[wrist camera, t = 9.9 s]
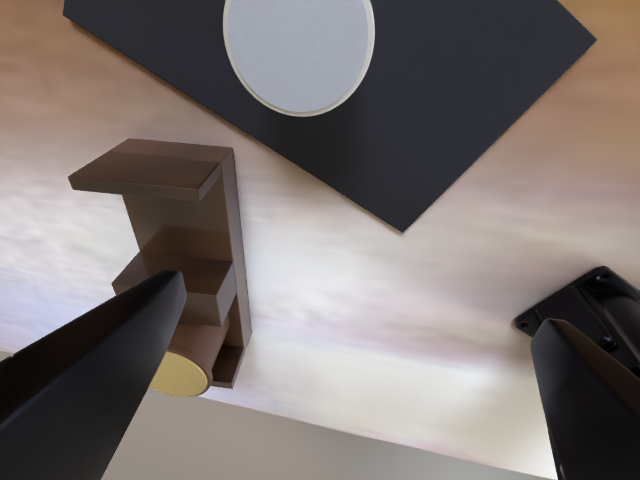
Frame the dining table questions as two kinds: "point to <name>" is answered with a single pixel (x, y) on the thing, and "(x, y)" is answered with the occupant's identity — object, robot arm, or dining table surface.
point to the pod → (190, 359)
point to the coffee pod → (299, 50)
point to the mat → (370, 87)
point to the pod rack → (183, 231)
